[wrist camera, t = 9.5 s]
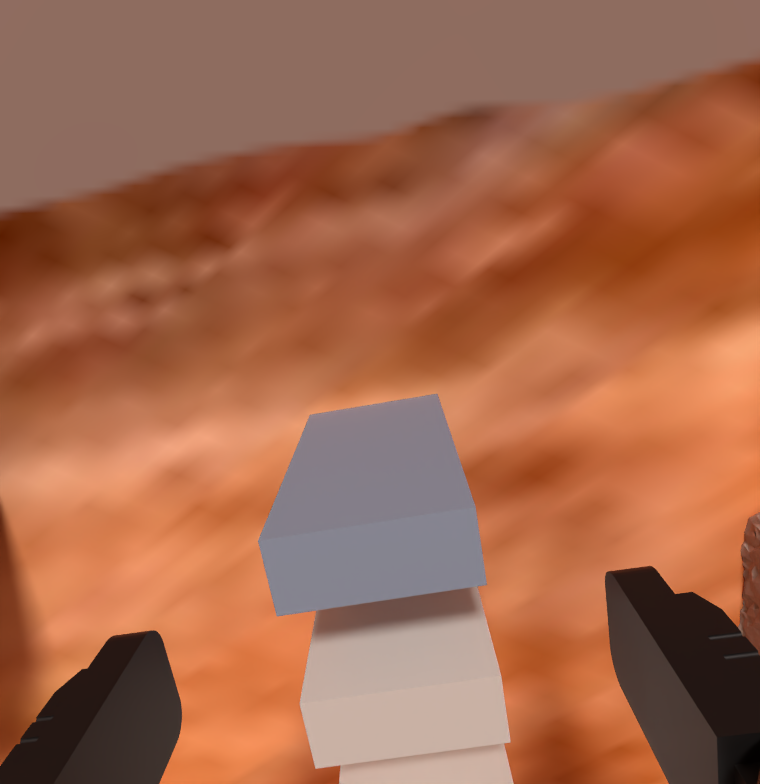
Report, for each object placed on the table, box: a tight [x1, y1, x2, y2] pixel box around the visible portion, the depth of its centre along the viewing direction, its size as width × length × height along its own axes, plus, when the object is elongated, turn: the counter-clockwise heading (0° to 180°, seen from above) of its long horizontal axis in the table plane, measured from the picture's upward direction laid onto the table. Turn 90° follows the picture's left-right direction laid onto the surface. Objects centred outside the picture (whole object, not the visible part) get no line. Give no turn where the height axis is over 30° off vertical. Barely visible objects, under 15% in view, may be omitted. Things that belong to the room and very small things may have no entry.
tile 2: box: [300, 586, 511, 769], centre depth 20 cm, size 5×2×10 cm, turn 100°
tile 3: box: [339, 743, 514, 784], centre depth 21 cm, size 5×2×10 cm, turn 100°
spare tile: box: [258, 394, 487, 616], centre depth 19 cm, size 5×2×10 cm, turn 100°
